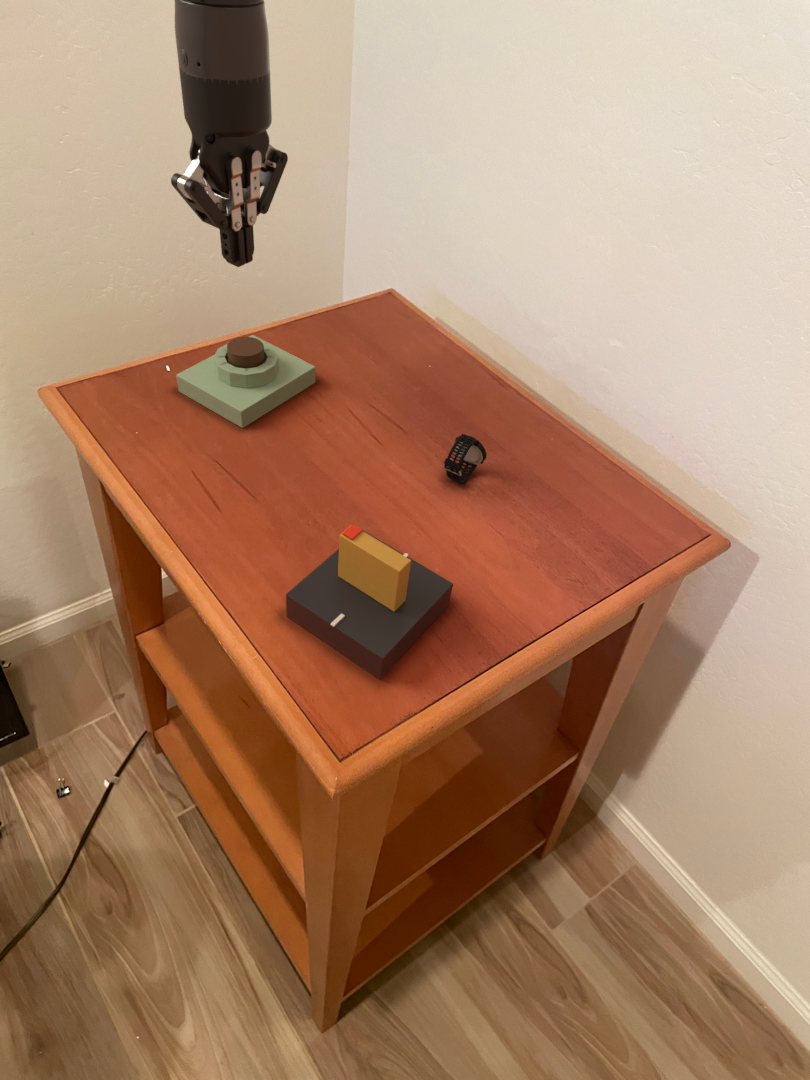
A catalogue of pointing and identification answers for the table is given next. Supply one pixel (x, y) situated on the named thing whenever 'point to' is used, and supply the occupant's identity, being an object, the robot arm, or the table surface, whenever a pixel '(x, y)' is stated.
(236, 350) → the bell button
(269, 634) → the table surface
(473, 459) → the smartwatch
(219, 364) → the doorbell
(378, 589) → the lock knob
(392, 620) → the plate
